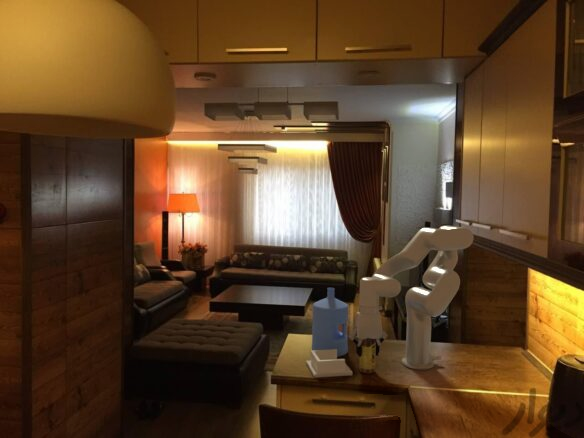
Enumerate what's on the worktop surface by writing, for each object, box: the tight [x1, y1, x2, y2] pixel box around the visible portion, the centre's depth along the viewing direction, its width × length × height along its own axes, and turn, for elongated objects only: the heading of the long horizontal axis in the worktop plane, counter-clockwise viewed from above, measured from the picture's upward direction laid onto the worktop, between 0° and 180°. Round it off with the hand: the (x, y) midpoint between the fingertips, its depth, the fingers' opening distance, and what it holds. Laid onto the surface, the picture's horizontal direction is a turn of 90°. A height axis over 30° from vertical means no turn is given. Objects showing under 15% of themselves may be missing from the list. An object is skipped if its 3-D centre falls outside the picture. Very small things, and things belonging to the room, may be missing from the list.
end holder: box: [305, 349, 353, 378], centre depth 180 cm, size 15×14×6 cm
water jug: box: [311, 287, 350, 358], centre depth 199 cm, size 16×16×28 cm
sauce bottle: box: [358, 338, 377, 375], centre depth 178 cm, size 7×6×20 cm
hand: (367, 354), depth 178 cm, fingers closed on sauce bottle, 6 cm apart
